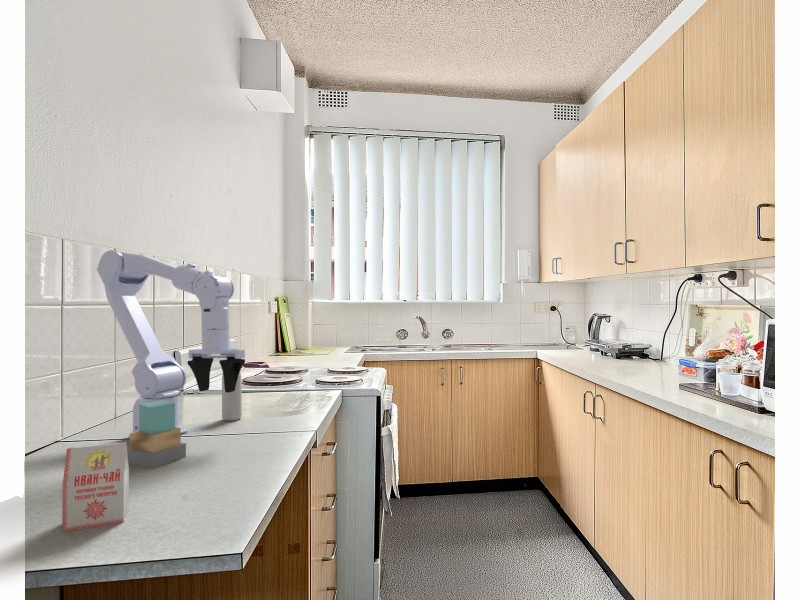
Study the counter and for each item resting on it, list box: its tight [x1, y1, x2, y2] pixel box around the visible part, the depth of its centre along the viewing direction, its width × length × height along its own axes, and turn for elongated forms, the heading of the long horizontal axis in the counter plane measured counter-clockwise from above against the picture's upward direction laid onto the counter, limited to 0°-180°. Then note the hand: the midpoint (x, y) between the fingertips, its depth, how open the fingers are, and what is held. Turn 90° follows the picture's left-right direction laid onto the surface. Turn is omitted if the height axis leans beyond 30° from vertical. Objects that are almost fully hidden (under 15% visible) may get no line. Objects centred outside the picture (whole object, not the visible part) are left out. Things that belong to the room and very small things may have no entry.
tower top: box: [129, 427, 182, 453], centre depth 87 cm, size 6×6×3 cm
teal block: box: [139, 401, 175, 435], centre depth 87 cm, size 4×4×5 cm
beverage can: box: [221, 372, 243, 422], centre depth 120 cm, size 5×5×12 cm
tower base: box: [127, 442, 187, 469], centre depth 87 cm, size 7×7×3 cm
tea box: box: [61, 441, 130, 532], centre depth 61 cm, size 4×7×10 cm, turn 111°
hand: (216, 391), depth 101 cm, fingers open, 7 cm apart
